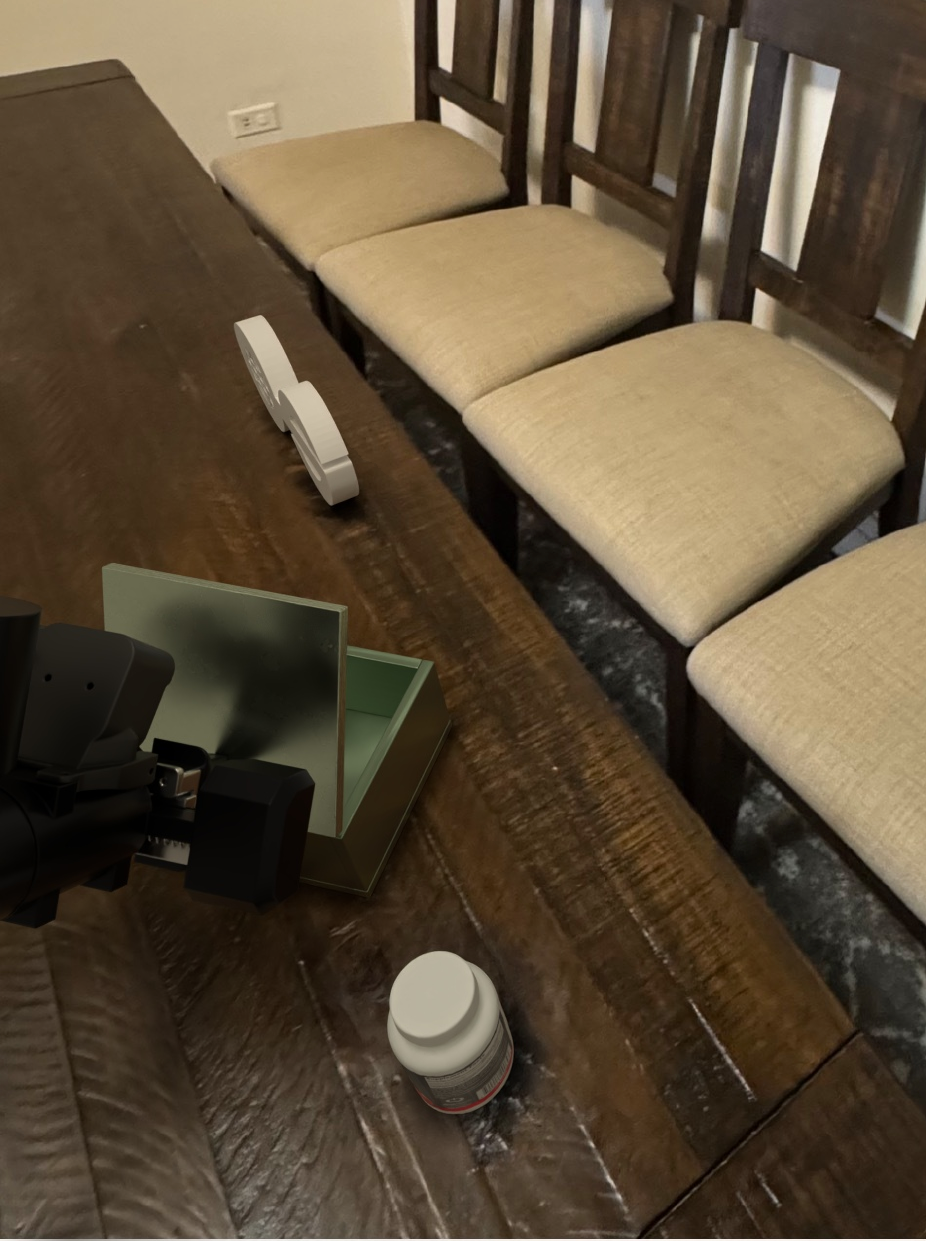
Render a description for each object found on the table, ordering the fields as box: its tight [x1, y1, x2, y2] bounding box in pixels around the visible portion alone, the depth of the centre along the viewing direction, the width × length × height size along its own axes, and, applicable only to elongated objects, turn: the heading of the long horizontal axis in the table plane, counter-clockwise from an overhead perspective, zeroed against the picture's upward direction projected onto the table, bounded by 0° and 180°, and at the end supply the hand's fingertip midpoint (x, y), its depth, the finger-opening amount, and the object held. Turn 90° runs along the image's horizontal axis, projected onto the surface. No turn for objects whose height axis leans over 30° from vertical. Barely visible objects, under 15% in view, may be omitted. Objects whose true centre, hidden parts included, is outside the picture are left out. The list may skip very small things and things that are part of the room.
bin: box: [299, 644, 453, 899], centre depth 63 cm, size 13×14×7 cm
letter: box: [233, 314, 360, 506], centre depth 86 cm, size 22×2×10 cm, turn 36°
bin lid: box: [101, 562, 349, 838], centre depth 54 cm, size 13×14×1 cm
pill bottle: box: [386, 950, 515, 1115], centre depth 51 cm, size 5×5×10 cm
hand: (219, 763), depth 55 cm, fingers closed
